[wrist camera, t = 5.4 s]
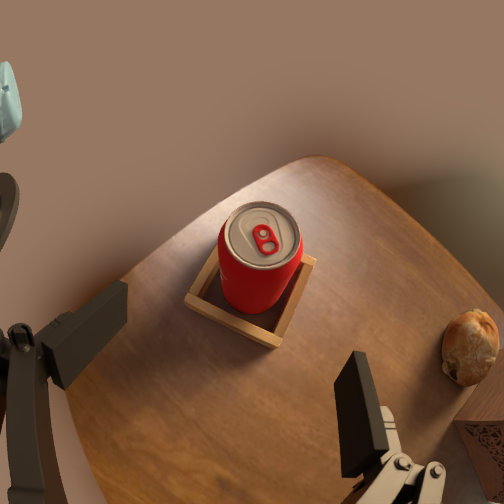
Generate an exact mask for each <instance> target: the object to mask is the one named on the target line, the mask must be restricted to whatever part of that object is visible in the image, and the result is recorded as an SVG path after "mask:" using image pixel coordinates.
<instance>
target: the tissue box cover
mask: <svg viewBox="0 0 504 504" xmlns="http://www.w3.org/2000/svg"><path fill="white" fill-rule="evenodd" d="M453 421H454V423H455V425H456V427H457V429H458V431H459V433H460V435H461V437H462V440H463V442H464V444H465V446H466V448H467V451H468V453H469V455H470V457H471V460H472V462H473V465H474V467H475V469H476V472H477V474H478V477H479V480H480V482H481V485H482V487H483V490H484V493H485V496H486V499H487V501H490V502H495V503H500V504H504V349H501V350H499V351H498V354H497V357H496V360H495V362H494V365H493V367H492V369H491V370H490V372H489V373H488V375H487V376H486V377H485V378H484V379H483V380H481V381H480V383H479V384H478V386H477V387H476V389H475V390H474V392H473V393H472V395H471V396H470V398H469V399H468V401H467V402H466V403H465V405H464V406H463V407H462V409H461V410H460V411H459V413H458V414H457V415H456V417H455V418H454V419H453Z"/></svg>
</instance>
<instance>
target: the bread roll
mask: <svg viewBox="0 0 504 504" xmlns="http://www.w3.org/2000/svg"><path fill="white" fill-rule="evenodd" d="M498 351H499V335H498V330H497V327H496V325H495V323H494V322H493V320H492V319H491V318H490V317H489V315H488V314H487V313H486V312H483V313H482V312H481V311H480V310H479V309H476V308H475V309H472V311H468V312H463V313H462V314H460V315H458V316H457V317H456V318H453V320H452V321H451V322H450V323H449V325H448V326H447V328H446V332H445V334H444V339H443V344H442V359H443V364H442V365H441V366H442V369H443V372H444V373H445V374H448V375H449V377H450V378H451V379H452V380H453V381H455V382H456V383H457V384H459V385H461V386H472V385H475V384H477V383H479V382H480V381H481V380H483V379H484V378H485V377H486V376H487V375H488V373H489V372H490V370H491V369H492V367H493V365H494V362H495V360H496V357H497V354H498Z"/></svg>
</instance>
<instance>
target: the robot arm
mask: <svg viewBox="0 0 504 504" xmlns="http://www.w3.org/2000/svg"><path fill="white" fill-rule="evenodd" d="M21 121H22V109H21V103H20V98H19V93H18V89H17V85H16V81H15V78H14V74H13V71H12V68H11V66H10V64H9V62H7V61H5V62H3V63H0V143H3V142H4V141H5V139H6V138H7V137H9V136H10V135H11V134H12V133H13V132H14V131H16V130H17V129H18V128H19V126H20V124H21ZM0 208H1V193H0ZM127 293H128V284H127V283H124V282H122V281H119V280H116V281H115V282H114V283H112V284H111V285H110V286H108V287H107V288H106V289H104V290H103V291H102V292H100V293H99V294H98V295H97V296H95V297H94V298H93V299H91V300H90V301H89V302H88V303H86V304H85V305H84V306H83V307H81V308H80V309H79V310H78V311H76V312H75V313H74V314H73V313H72V312H69V311H68V312H66V313H63V314H61V315H59V316H58V317H57V318H55V319H54V321H52V322H50V323H49V325H47V326H45V327H44V328H43V329H42V330H41V331H39V332H38V333H37V334H36V335H34V336H33V334H32V330H31V328H30V327H29V326H28V325H26V324H23V323H18V324H15V325H13V326H11V327H10V328H9V329H8V332H7V333H8V336H9V339H8V338H5V337H4V334H3V331H2V330H1V329H0V434H1V429H2V424H3V420H4V416H5V412H6V434H7V451H8V461H9V469H10V477H11V487H10V488H9V489H8V492H7V494H8V501H9V504H68V502H67V499H66V495H65V492H64V488H63V484H62V481H61V476H60V472H59V468H58V463H57V458H56V453H55V447H54V441H53V434H52V428H51V419H50V408H49V394H48V382H47V379H48V378H49V377H50V376H51V378H52V380H53V383H54V384H55V385H57V386H58V387H60V388H61V389H63V390H64V391H65V390H66V389H67V388H68V386H69V385H70V384H71V383H72V382H73V381H74V380H75V378H76V377H77V376H78V375H79V374H80V373H81V372H82V371H83V369H84V368H85V367H86V366H87V365H88V364H89V363H90V362H91V360H92V359H93V358H94V357H95V356H96V355H97V354H98V353H99V352H100V351H101V349H102V348H103V347H104V346H105V345H106V344H107V343H108V342H109V341H110V340H111V339H112V338H113V337H114V335H115V334H116V333H117V332H118V331H119V330H120V329H121V328H122V327H123V326H124V325H125V324H126V323H127ZM334 391H335V400H336V410H337V420H338V431H339V443H340V456H341V473H342V478H357V477H358V476H359V475H360V474H362V473H363V476H364V479H363V480H361V481H360V482H358V483H357V484H356V485H354V486H353V487H352V488H354V489H353V490H352V492H351V493H350V494H349V495H348V496H347V497H346V498H345V499H344V501H343V502H342V503H341V504H441V500H442V495H443V489H444V484H445V477H446V471H445V468H444V466H443V465H442V464H441V463H439V462H435V461H433V462H430V463H429V464H428V465H426V466H421V465H417V464H413V462H412V460H411V458H410V457H409V456H408V455H406V454H404V453H402V450H401V446H400V442H399V438H398V434H397V430H396V426H395V423H394V419H393V415H392V413H391V411H390V410H389V409H388V407H387V406H380V404H379V400H378V397H377V393H376V389H375V385H374V382H373V378H372V375H371V371H370V368H369V364H368V361H367V358H366V354H365V353H364V352H359V351H354V350H353V352H352V354H351V355H350V357H349V359H348V361H347V362H346V364H345V366H344V367H343V369H342V371H341V372H340V374H339V376H338V377H337V379H336V381H335V382H334Z"/></svg>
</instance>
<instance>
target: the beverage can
mask: <svg viewBox="0 0 504 504" xmlns="http://www.w3.org/2000/svg"><path fill="white" fill-rule="evenodd" d="M217 247H218V257H219V266H220V276H221V285H222V292H223V295H224V297H225V299H226V301H227V302H228V303H229V304H230V305H231V306H232V307H233V308H234V309H236V310H237V311H239V312H242V313H246V314H259V313H262V312H265V311H267V310H269V309H270V308H271V307H273V306H274V305H275V303H276V302H277V300H278V299H279V297H280V296H281V294H282V292H283V290H284V289H285V287H286V285H287V284H288V282H289V280H290V279H291V277H292V275H293V273H294V272H295V270H296V268H297V267H298V265H299V263H300V260H301V257H302V253H303V242H302V237H301V234H300V228H299V226H298V223H297V221H296V220H295V218H294V217H293V216H292V214H291V213H290V212H288V211H287V210H286V209H284V208H283V207H281V206H279V205H277V204H275V203H271V202H266V201H255V202H250V203H247V204H244V205H242V206H240V207H239V208H237V209H236V210H235V211H234V212H233V213H232V214H231V215H230V216H229V218H228V219H227V220H226V222H225V223H224V225H223V226H222V228H221V230H220V233H219V236H218V242H217Z"/></svg>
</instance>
